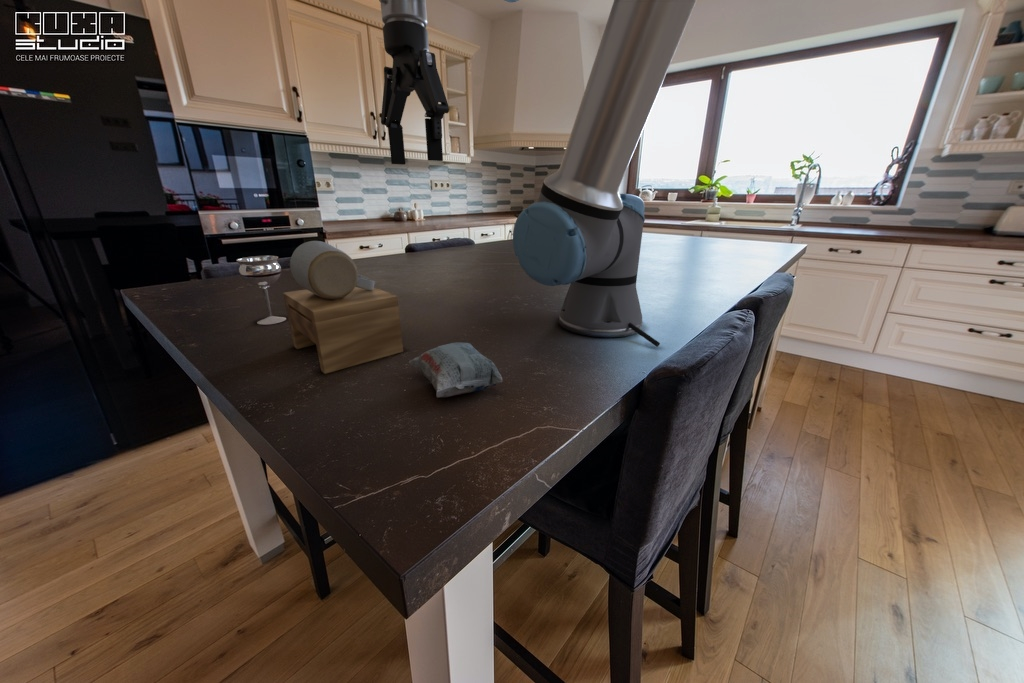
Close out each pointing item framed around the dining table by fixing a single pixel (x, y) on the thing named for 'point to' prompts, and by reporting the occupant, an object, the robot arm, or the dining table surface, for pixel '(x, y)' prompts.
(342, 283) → the ceramic mug
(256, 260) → the wineglass
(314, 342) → the oak stool
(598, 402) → the dining table surface
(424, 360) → the packaged food
